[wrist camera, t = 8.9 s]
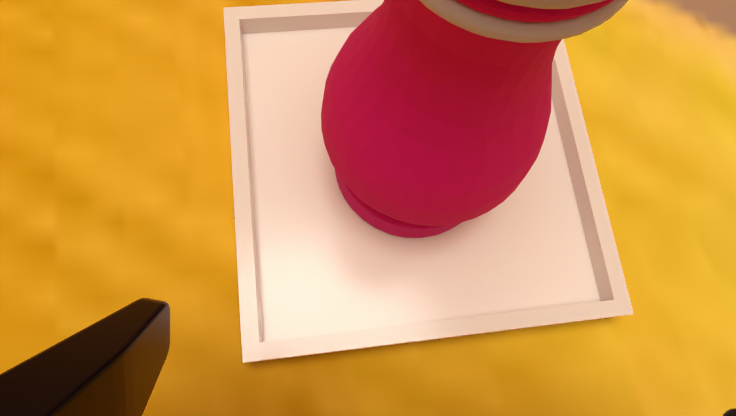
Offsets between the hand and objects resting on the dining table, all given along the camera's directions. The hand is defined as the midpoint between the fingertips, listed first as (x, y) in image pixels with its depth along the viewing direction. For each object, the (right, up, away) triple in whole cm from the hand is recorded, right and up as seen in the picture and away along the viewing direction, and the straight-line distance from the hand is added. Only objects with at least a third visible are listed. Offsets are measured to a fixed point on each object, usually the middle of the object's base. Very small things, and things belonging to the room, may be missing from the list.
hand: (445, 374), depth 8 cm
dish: (+1, +4, +14) cm, 14 cm away
